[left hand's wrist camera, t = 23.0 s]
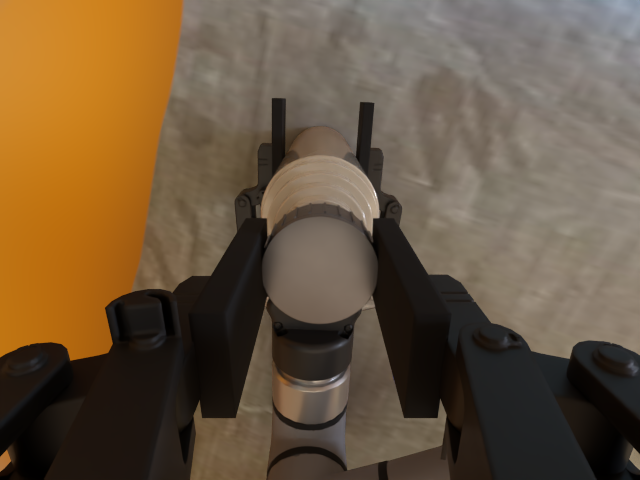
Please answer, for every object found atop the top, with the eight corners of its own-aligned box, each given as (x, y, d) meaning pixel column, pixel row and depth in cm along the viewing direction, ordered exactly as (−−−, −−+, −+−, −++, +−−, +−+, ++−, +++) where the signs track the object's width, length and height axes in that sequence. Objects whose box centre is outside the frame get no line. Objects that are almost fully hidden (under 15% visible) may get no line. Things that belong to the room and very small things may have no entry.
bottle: (317, 112, 35) (313, 142, 12) (363, 155, 36) (438, 258, 13) (276, 160, 37) (202, 269, 14) (322, 200, 38) (325, 361, 15)
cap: (390, 218, 14) (398, 233, 12) (355, 313, 15) (359, 337, 14) (279, 188, 13) (274, 200, 12) (255, 288, 15) (247, 310, 13)
